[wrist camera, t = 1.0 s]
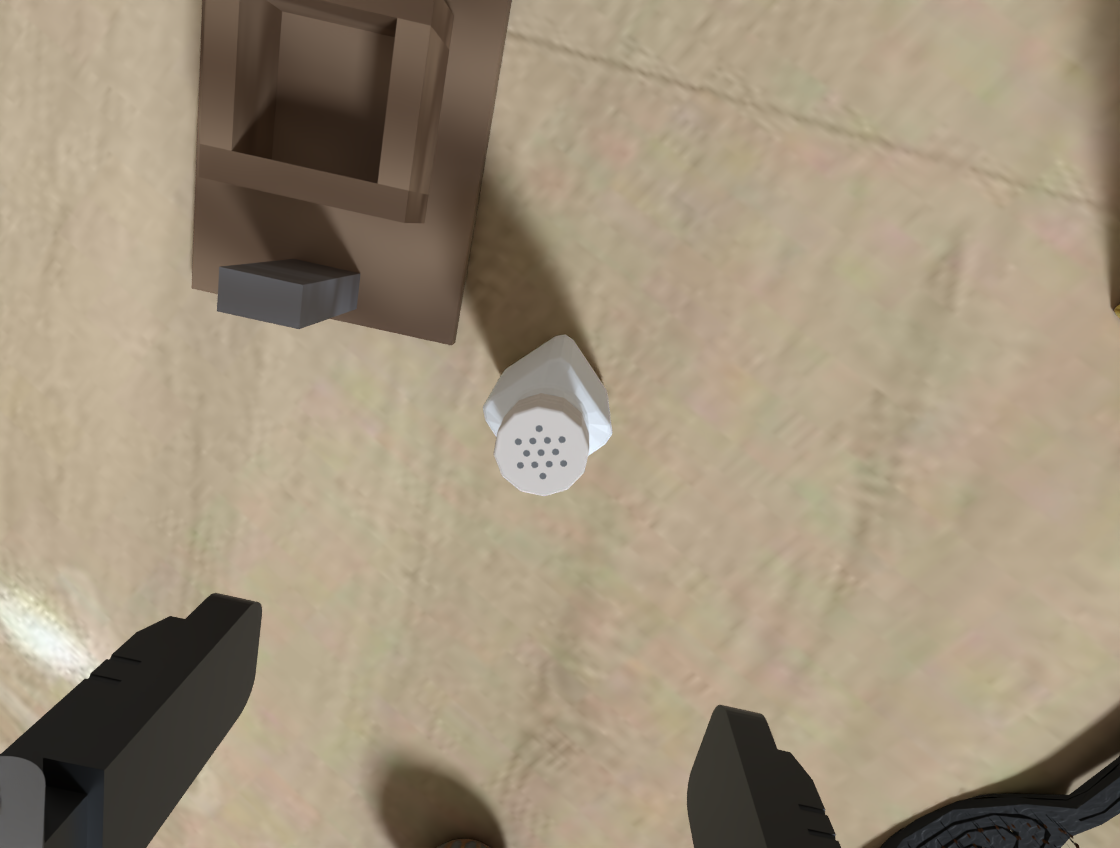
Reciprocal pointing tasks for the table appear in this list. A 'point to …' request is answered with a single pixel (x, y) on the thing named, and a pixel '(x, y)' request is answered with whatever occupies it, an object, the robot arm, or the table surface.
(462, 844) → the vase
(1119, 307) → the candy box
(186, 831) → the table surface
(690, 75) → the table surface
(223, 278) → the shaker holder
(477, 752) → the table surface
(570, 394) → the pepper shaker
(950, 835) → the hairbrush
